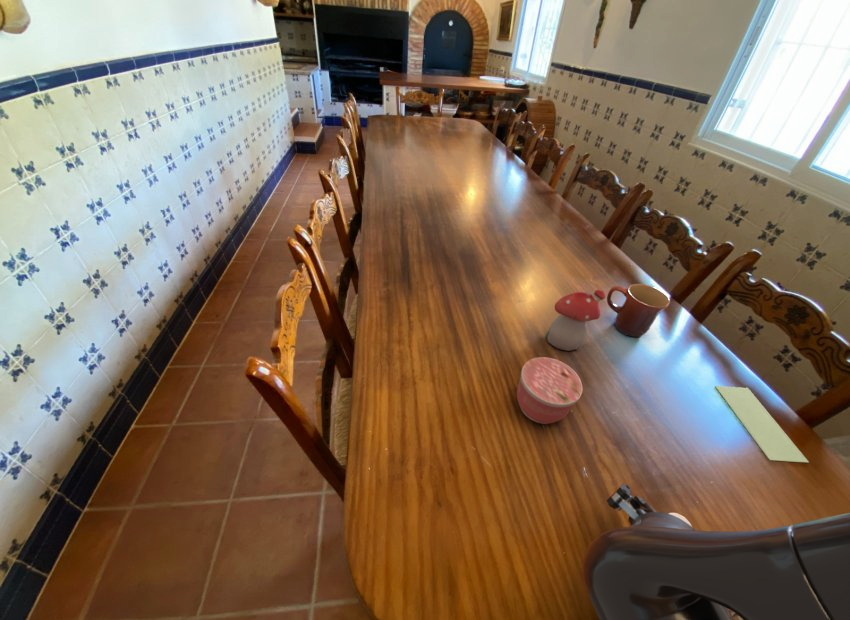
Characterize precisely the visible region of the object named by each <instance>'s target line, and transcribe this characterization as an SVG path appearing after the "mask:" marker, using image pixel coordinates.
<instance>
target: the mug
mask: <svg viewBox="0 0 850 620" xmlns="http://www.w3.org/2000/svg"><path fill="white" fill-rule="evenodd" d="M615 291H617V292H620V293H621V294H622V295H623V296H624V297H625V300H624V302H623V304H622V305H620V306H619V305H617V304H615V303H614V302H613V300H612V298H613V297H612V296H613V293H615ZM606 303H607V305H608V307H609V308H610V309H611V310H612V311H613V312H614V313H616V316H615V319H614V325H615V327H616V328H617V330H619V332H621V333H622V334H624V335H627V336H629V337H632V338H633V337H636V338H638V337H643V336H645V334H647V333H648V331H649V330H650V329H651V327H652V325H653V324H654V322H655V321H656V319H657V317H658V315H659V314H661V313H662V311H664V310H665V309H666V308H667V307H669V305H670V304H671V300H670V298H669V296H668V295H667V294H666V293H665V292H663V291H662V290H660V289H659V288H657V287H654V286H652V285H649V284H644V283H633V284H630V285H629V286H628V287H624V286H621V285H615V286H612V287H610V289H609V291H608V292H607V295H606Z"/></svg>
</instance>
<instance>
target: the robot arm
mask: <svg viewBox="0 0 850 620" xmlns="http://www.w3.org/2000/svg"><path fill="white" fill-rule="evenodd" d="M631 493H632V489H631V488H630V486H629V485H627V484H625V483H622V484H621V485H620V486H619V487H618V488H617V489H616V490H615V491H614V492H613V493H612V494H611V495H610V496H609V498H607V499H606V503H607V505H608V506H609V507H610V508H612V509H613V510H617V512H620V511H621V510H622V511H624V512H625V513H626V514H627V515H628V520H627V522H628V524H629V525H628V526H620V527H616V528H612V529H609V530H606V531H605V532H603V533H601V534H600V535H598V536H596V537H595V538H594V539H593V540H592V541H591V542H590V544H588V547H587V548H586V550H585V551H584V555H583V558H582V562H581V575H582V576H581V577H582V581H583V584H584V587H585V589H586V592H587V594H588V598H589V599H590V602H591V604H592V606H593V608H594V611H595V612H596V615H597V617H598V618H599V620H735V618H734V615H735V614H736V615H737V616H739V617H740V619H742V620H850V512H845V513H840V514H835V515H831V516H825V517H822V518H818V519H817V518H816V519H812V520H808V521H802V522H798V523H796V524H788V525H784V526H779V527H774V528H773V527H772V528H766V529H757V530H756V529H755V530H735V531H733V530H732V531H730V530H729V531H724V530H721V531H720V530H698V529H697V530H696V529H695V528H694V527H693V526H692V525H691V526H692V527H691V526H690V525H689V524H688V523H686V522H685V521H683V520H681V519H680V518H678V517H676V516H673V515H670V514H669V513H666V512H661V511H657V510H656V509H655V508H654V507H653V506H652V505H650V504H649V503H648V501H647V500H646V499H645V498H644V497H641V496H639V495H637V494H635V496H633V495H632V494H631Z"/></svg>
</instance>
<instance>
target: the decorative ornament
mask: <svg viewBox="0 0 850 620" xmlns="http://www.w3.org/2000/svg"><path fill="white" fill-rule="evenodd" d="M606 298H607V295H606V292H605V291H604V290H602V289H596V290H595V291H594V293H589V292H587V291H574V292H572V293H569V294H566V295H564V296H562V297H561V298H559V299H558V300H557V301H556V302H555V303H554V310H555V312H557V313H558V314H559V316H557V317H556V318H555V319H554V320H553V321H552V322H551V324H550V326H549V327H548V331H547V333H546V335H545V339H546V341H547V343H549V344H550V345H551V346H553V347H554V348H556V349H558V350H563V351H567V352H570V351H574V350H577V349H578V348H579V347H580V346H581V345H582V344H583V342H585V340H586V338H587V336H588V324H587V322H591V321H596V320H599V318H600V317H601V315H602V314H601V313H602V312H601V306H600V301H603V300H605V299H606Z"/></svg>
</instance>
